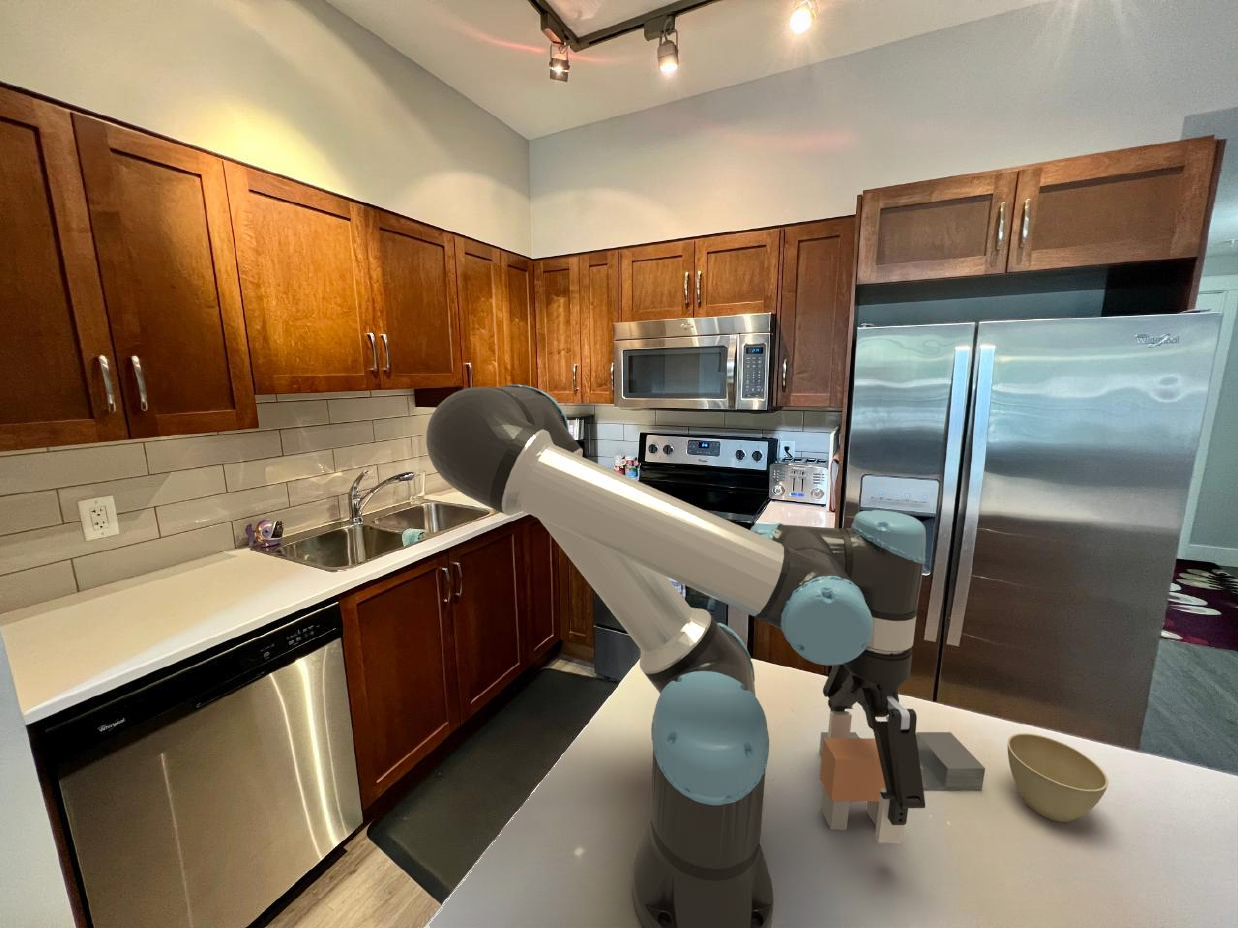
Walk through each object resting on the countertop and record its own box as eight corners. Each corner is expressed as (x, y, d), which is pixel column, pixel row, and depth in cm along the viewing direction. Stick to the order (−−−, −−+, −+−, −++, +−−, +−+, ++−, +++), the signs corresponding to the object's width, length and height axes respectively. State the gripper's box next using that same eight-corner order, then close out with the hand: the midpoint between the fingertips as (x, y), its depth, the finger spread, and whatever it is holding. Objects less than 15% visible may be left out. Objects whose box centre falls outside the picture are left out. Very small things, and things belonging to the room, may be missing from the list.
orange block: (828, 831, 61) (835, 759, 59) (816, 807, 65) (823, 738, 63) (898, 831, 61) (908, 759, 60) (883, 807, 65) (891, 738, 63)
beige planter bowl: (1119, 847, 60) (1131, 797, 58) (1027, 831, 62) (1036, 782, 60) (1064, 782, 69) (1072, 738, 68) (985, 770, 71) (992, 727, 70)
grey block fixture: (840, 790, 68) (842, 768, 67) (819, 752, 74) (821, 732, 74) (981, 790, 68) (985, 768, 67) (947, 752, 75) (950, 732, 74)
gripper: (984, 705, 47) (955, 890, 50) (857, 594, 71) (843, 725, 74) (907, 706, 47) (883, 891, 50) (806, 594, 71) (795, 725, 74)
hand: (860, 792), depth 62 cm, fingers open, 12 cm apart
